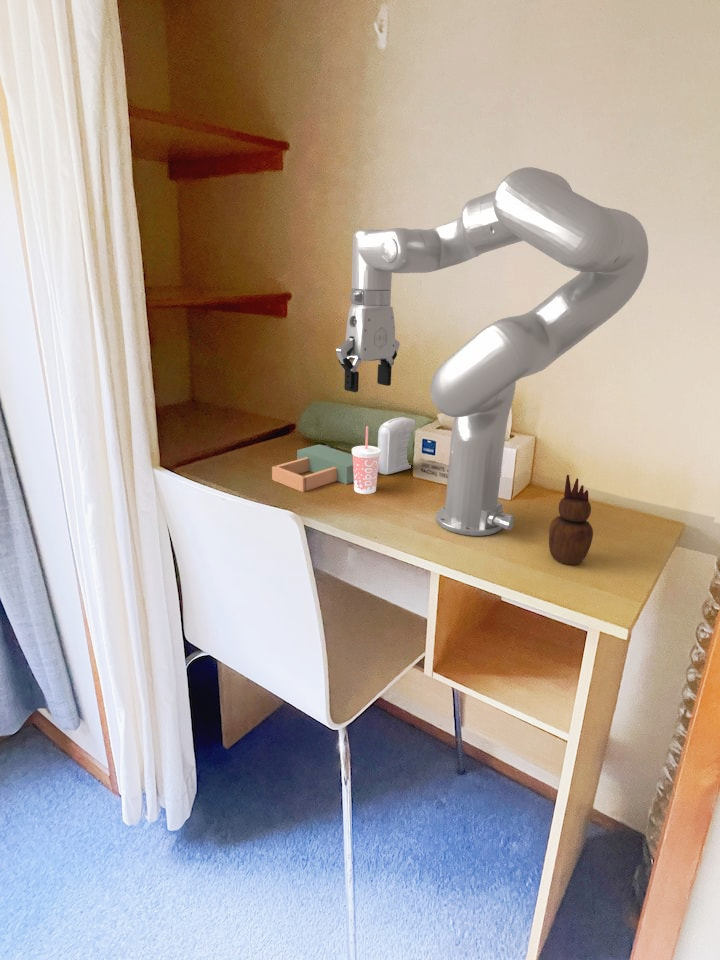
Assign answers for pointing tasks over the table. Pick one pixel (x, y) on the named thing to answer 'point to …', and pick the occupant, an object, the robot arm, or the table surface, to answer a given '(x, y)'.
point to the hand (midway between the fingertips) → (368, 387)
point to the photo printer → (394, 445)
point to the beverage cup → (365, 467)
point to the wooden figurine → (571, 527)
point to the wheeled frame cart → (315, 468)
